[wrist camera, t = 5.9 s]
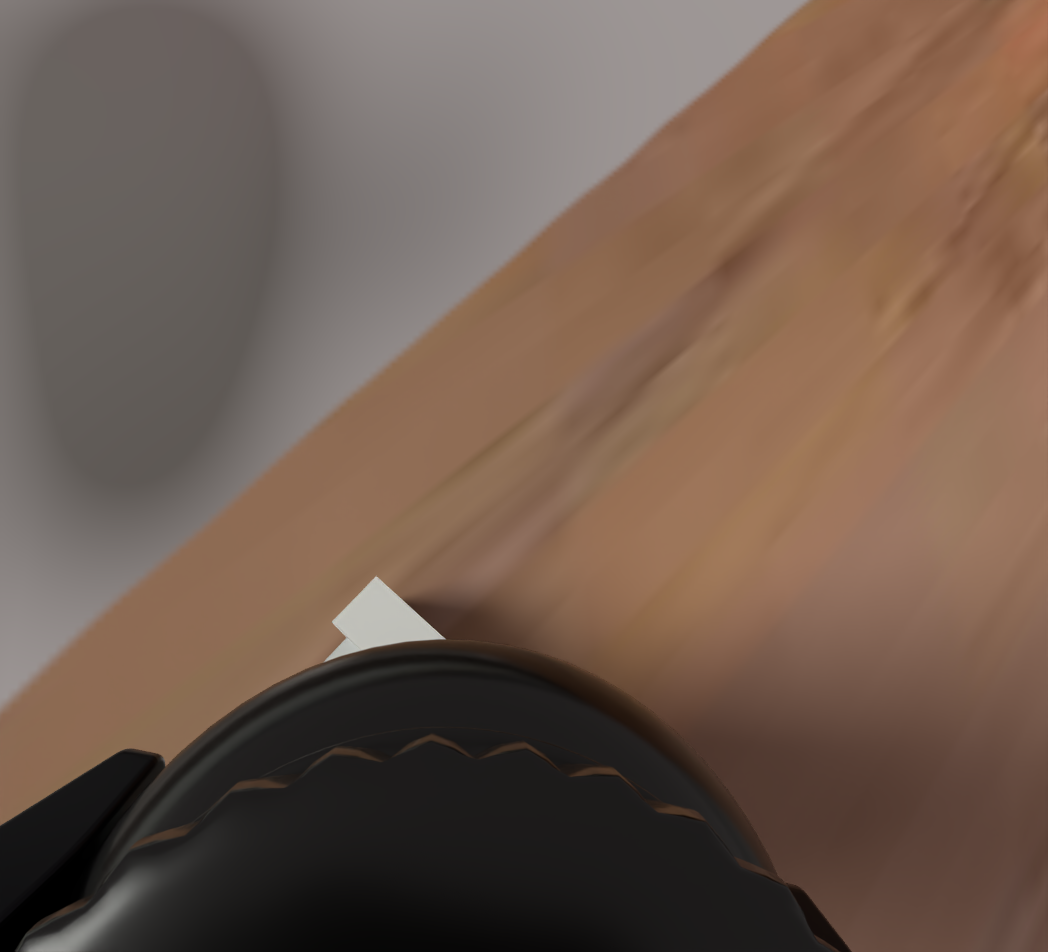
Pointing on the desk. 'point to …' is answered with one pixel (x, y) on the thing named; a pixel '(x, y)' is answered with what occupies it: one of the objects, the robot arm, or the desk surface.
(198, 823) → the supplement bottle
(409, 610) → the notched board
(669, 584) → the desk surface
